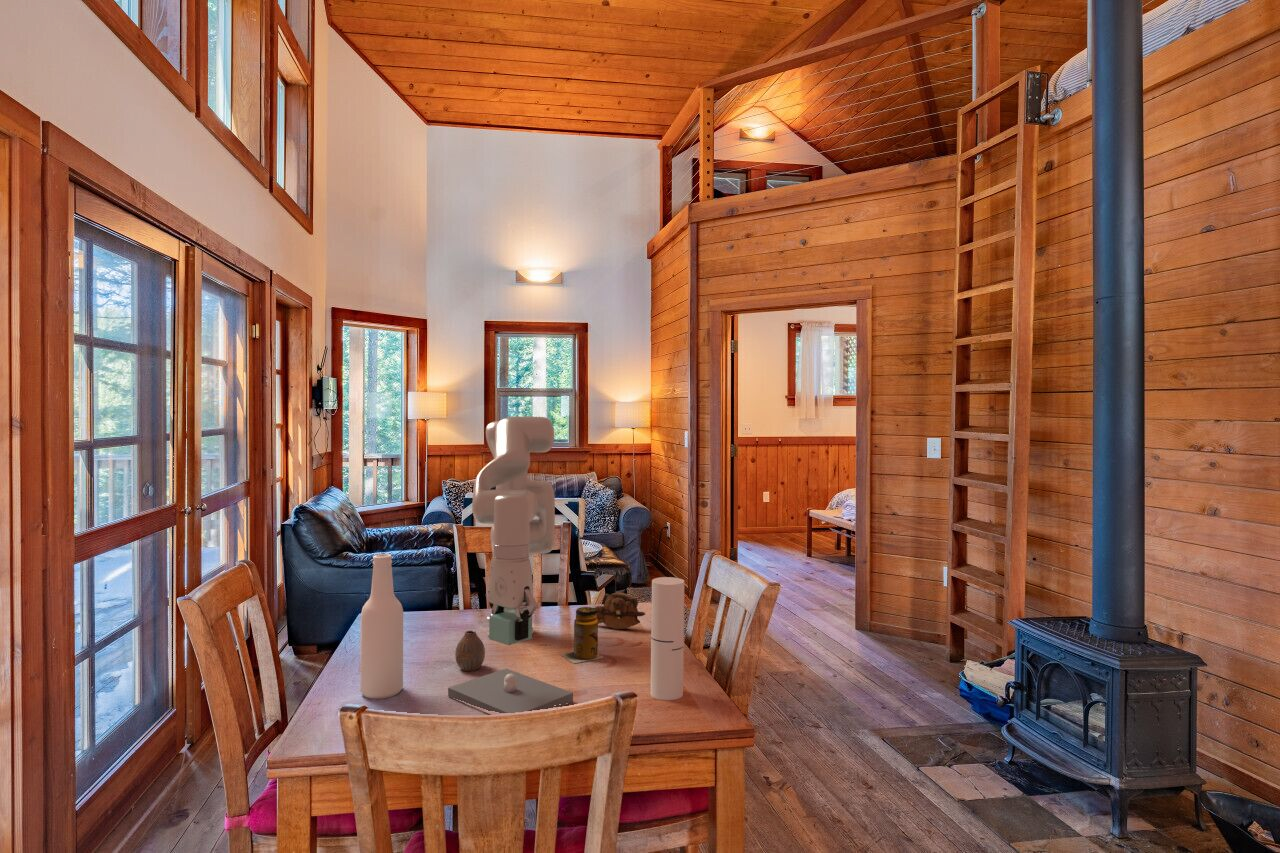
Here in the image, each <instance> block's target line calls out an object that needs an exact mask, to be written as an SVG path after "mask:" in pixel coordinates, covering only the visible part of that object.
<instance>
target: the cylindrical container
mask: <svg viewBox="0 0 1280 853" xmlns="http://www.w3.org/2000/svg"><path fill="white" fill-rule="evenodd" d="M650 615H651V620H650V621H651V624H650V625H651V626H650V627H651V628H650V630H651V632H650V636H651V637H650V696H651V697H652V698H654V699H657V700H661V701H675V700H679V699H681V698H682V697H683V696H684V645H685V644H684V643H685V642H684V639H685V637H684V636H685V580H684V579H683V578H679V577H672V576H669V577H668V576H662V577H661V576H660V577H655V578H653V579H652V580H651V614H650Z"/></svg>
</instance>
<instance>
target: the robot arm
mask: <svg viewBox="0 0 1280 853" xmlns="http://www.w3.org/2000/svg"><path fill="white" fill-rule="evenodd" d="M485 438H486V442H487V445H488V448H489V449H490V450H489V451H490V453H491V455H492V457H493V459H492V460H491V461H490V462H488V463H487V464H486V465H485V466H484V467H482V469H481V470H480V471H479V472H478V474H477V476H476V477H475V480H474V482H473V489H472V490H473V492H472V493H473V494H472V503H471V508H472V511H471V512H472V516H473V517H474V518H473V519H475V521H476V522H478V523H480V524H487V525H489V524H493V525H492V526H491V528H490V535H489V536H490V544H491V550H492V556H491V560H490V563H489V569H488V576H487V577H488V578H487V592H486V593H485V597H486V599H487V601H488V604H489V607H490V608H491V614H490V615H489V616H491V615H495V614H499V613H503V612H507V611H511V610H514V611H515V613H516V617H517V621H515V640H517V641H519V640H522V639H526V638H528V620H530V619H531V616H532V617H533V614H534V613H535V611H536V610H537V608H538V607H539V604H538V602H537V601H536V599H535V598H534V595H533V594H534V590H533V589H534V586H533V585H534V584H533V583H534V582H533V572H532V571H533V570H532V564H531V559H530V555H539V554H541V555H542V554H543V555H544V554H548V553H551V551H553V549H554V546H555V532H556V531H555V530H556V529H555V528H556V527H555V525H556V523H555V519H556V516H555V515H556V514H555V513H556V512H555V511H556V510H555V509H556V508H555V507H556V506H555V502H556V500H555V490H554V487H553V485H552V484H551V483H550V482H549V481H546V480H529V479H528V471H529V468H530V466H531V454H530V453H547V452H549V451H550V450H551V449H552V448H553V446H554V442H555V441H554V440H555V430H554V425H553V423H552V421H551V420H550V419H549V418H548V417H545V416H508V417H504V418H501V419H500V420H496V421H492V422H490V423H488V424H487V425H486V427H485ZM493 488H495V489H493ZM535 517H537V518H538V519H537V518H535ZM521 612H522V614H521ZM489 616H487V617H486V622H489ZM486 632H487V637H489V628H487V630H486ZM533 634H534V627H533V626H532V635H533Z"/></svg>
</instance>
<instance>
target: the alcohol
mask: <svg viewBox="0 0 1280 853" xmlns="http://www.w3.org/2000/svg"><path fill="white" fill-rule="evenodd" d="M392 559H393V555H392V554H390V553H381V554H380V553H379V554H375V555H373V557H372V560H373V561H372V565H373V566H372V568H373V569H372V575H371V576H372V578H371V588H370V589H371V591H370V596H369V598H368V600H366V602H364V605H362V608H361V614H360V668H359V669H360V676H359V678H360V681H359V682H360V689H359V690H360V692H361V695H362V696H363V697H365V698H367V699H371V700H380V699H388V698H391V697H394V696H396V695H398V694H399V693H401V690H402V689H403V687H404V609H403V605H402V603H401V602H400V601H399V599H398V598H397V597H396V596H395V592H394V581H393V580H394V579H393V569H392V568H393V567H392V565H393V560H392Z"/></svg>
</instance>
